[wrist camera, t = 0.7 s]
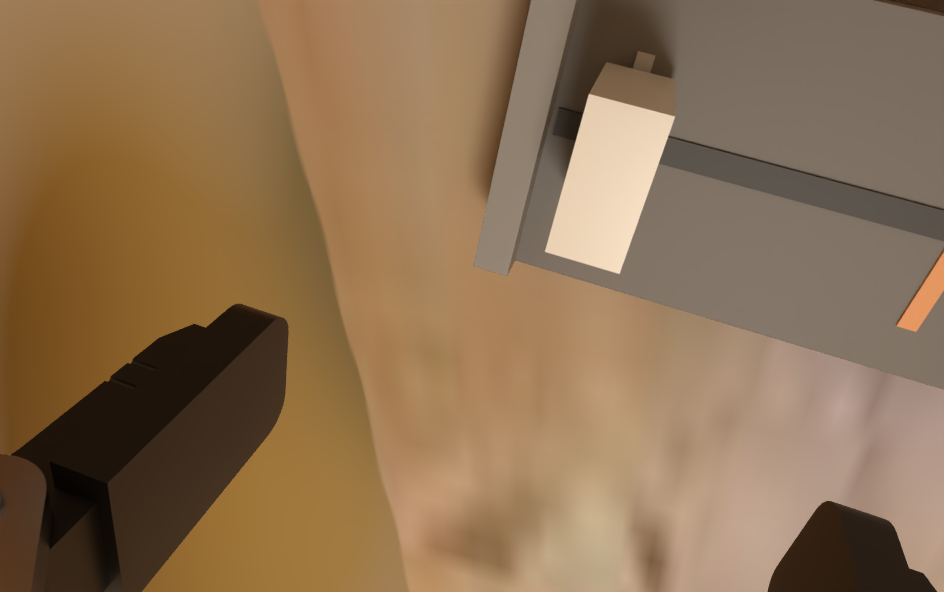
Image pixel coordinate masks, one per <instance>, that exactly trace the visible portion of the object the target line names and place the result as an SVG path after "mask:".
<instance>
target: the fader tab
mask: <svg viewBox="0 0 944 592" xmlns="http://www.w3.org/2000/svg"><path fill="white" fill-rule="evenodd" d="M676 87H677V80H676V79H672V78H668V77H664V76H660V75H656V74H652V73H648V72H644V71H640V70H636V69H632V68H628V67H625V66H621V65H617V64H613V63H609V62H606V64H605V66H604V67H603V69H602V71H601V73H600V75H599V77H598V78H597V80H596V82H595V84H594V86H593V87H592V89H591V91H590V93H589V95H588V99H587V103H586V106H585V110H584V113H583V117H582V121H581V124H580V128H579V131H578V135H577V138H576V142H575V146H574V149H573V153H572V156H571V160H570V163H569V167H568V171H567V174H566V178H565V181H564V185H563V189H562V192H561V196H560V199H559V203H558V206H557V210H556V214H555V217H554V221H553V224H552V228H551V231H550V235H549V239H548V242H547V246H546V249H545V252H547V253H550V254H554V255H557V256H560V257H564V258H567V259H571V260H574V261H577V262H581V263H584V264H587V265H591V266H594V267H597V268H601V269H604V270H607V271H611V272H614V273H618V274H620V271H621V268H622V266H623V263H624V260H625V257H626V254H627V251H628V249H629V246H630V243H631V240H632V237H633V235H634V232H635V229H636V226H637V223H638V220H639V218H640V215H641V212H642V209H643V206H644V203H645V201H646V198H647V195H648V192H649V189H650V187H651V184H652V181H653V178H654V175H655V172H656V170H657V167H658V164H659V161H660V158H661V155H662V153H663V150H664V147H665V144H666V141H667V139H668V136H669V133H670V130H671V127H672V124H673V122H674V119H675V111H676Z"/></svg>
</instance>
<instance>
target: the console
mask: <svg viewBox="0 0 944 592" xmlns="http://www.w3.org/2000/svg"><path fill="white" fill-rule="evenodd" d="M606 62H609V63H613V64H617V65H621V66H625V67H628V68H632V69H636V70H640V71H644V72H648V73H652V74H656V75H660V76H664V77H668V78H672V79H676V80H677V87H676V111H675V119H674V122H673V124H672V127H671V130H670V133H669V136H668V139H667V141H666V144H665V147H664V150H663V153H662V155H661V158H660V161H659V164H658V167H657V170H656V172H655V175H654V178H653V181H652V184H651V187H650V189H649V192H648V195H647V198H646V201H645V203H644V206H643V209H642V212H641V215H640V218H639V220H638V223H637V226H636V229H635V232H634V235H633V237H632V240H631V243H630V246H629V249H628V251H627V254H626V257H625V260H624V263H623V266H622V268H621V271H620V274H618V273H614V272H611V271H607V270H604V269H601V268H597V267H594V266H591V265H587V264H584V263H581V262H577V261H574V260H571V259H567V258H564V257H560V256H557V255H554V254H550V253H547V252H545V249H546V246H547V242H548V239H549V235H550V231H551V228H552V224H553V221H554V217H555V214H556V210H557V206H558V203H559V199H560V196H561V192H562V189H563V185H564V181H565V178H566V174H567V171H568V167H569V163H570V160H571V156H572V153H573V149H574V146H575V142H576V138H577V135H578V131H579V128H580V124H581V121H582V117H583V113H584V110H585V106H586V103H587V99H588V95H589V93H590V91H591V89H592V87H593V86H594V84H595V82H596V80H597V78H598V77H599V75H600V73H601V71H602V69H603V67H604V66H605V64H606ZM515 260H516V261H519V262H523V263H526V264H529V265H532V266H536V267H539V268H542V269H546V270H549V271H552V272H556V273H559V274H562V275H566V276H569V277H572V278H576V279H579V280H582V281H586V282H589V283H592V284H595V285H599V286H602V287H605V288H609V289H612V290H615V291H619V292H622V293H625V294H629V295H632V296H635V297H639V298H642V299H645V300H649V301H652V302H655V303H659V304H662V305H665V306H668V307H672V308H675V309H678V310H682V311H685V312H688V313H692V314H695V315H698V316H702V317H705V318H708V319H712V320H715V321H718V322H722V323H725V324H728V325H731V326H735V327H738V328H741V329H745V330H748V331H751V332H755V333H758V334H761V335H765V336H768V337H771V338H775V339H778V340H781V341H785V342H788V343H791V344H795V345H798V346H801V347H804V348H808V349H811V350H814V351H818V352H821V353H824V354H828V355H831V356H834V357H838V358H841V359H844V360H848V361H851V362H854V363H858V364H861V365H864V366H868V367H871V368H874V369H877V370H881V371H884V372H887V373H891V374H894V375H897V376H901V377H904V378H907V379H911V380H914V381H917V382H921V383H924V384H927V385H931V386H934V387H937V388H940V389H944V12H940V11H935V10H931V9H926V8H922V7H918V6H913V5H909V4H905V3H900V2H896V1H891V0H531V3H530V8H529V12H528V17H527V22H526V26H525V31H524V35H523V40H522V45H521V49H520V54H519V58H518V63H517V68H516V72H515V77H514V81H513V86H512V91H511V95H510V100H509V104H508V109H507V114H506V118H505V123H504V127H503V132H502V137H501V141H500V146H499V150H498V155H497V160H496V164H495V169H494V173H493V178H492V183H491V187H490V192H489V196H488V201H487V206H486V210H485V215H484V219H483V224H482V229H481V233H480V238H479V242H478V247H477V252H476V256H475V261H474V265H473V266H474V267H478V268H481V269H484V270H487V271H491V272H494V273H497V274H501V275H504V276H507V275H508V273H509V271H510V269H511V267H512V265H513V263H514V261H515Z"/></svg>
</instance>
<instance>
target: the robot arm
mask: <svg viewBox="0 0 944 592" xmlns="http://www.w3.org/2000/svg"><path fill="white" fill-rule="evenodd" d="M287 349H288V324H287V321H286V320H285V319H284V318H282V317H279V316H276V315H273V314H270V313H267V312H264V311H260V310H257V309H254V308H252V307H248V306H246V305H243V304H235V305H233V306H231V307H230V308H229V309H227V310H226V311H225V312H224V313H223V314H222V315H220V316H219V317H218V318H217V319H216V320H214V321H213V322H212V323H211V324H210V325H209V326H207V327H206V328H205V327H202V326H199V325H196V324H193V325H191V326H188V327H185V328H183V329H180V330H178V331H175V332H173V333H170V334H168V335H165V336H163V337H160V338H158V339H157V340H156V341H155V342H153V343H152V344H151V345H150V346H148V347H147V348H146V349H145V350H143V351H142V352H141V353H140V354H138V355H137V356H136V357H134V358H133V361H132V363H131V364H129V363H127V364H126V365H125V366H123V367H122V368H121V369H119V370H118V371H117V372H116V373H115V374H113V375H112V376H111V378H110V381H109V382H106V381H104V382H103V383H102V384H100V385H99V386H98V387H97V388H96V389H94V390H93V391H92V392H91V393H89V394H88V395H87V396H85V397H84V398H83V399H82V400H80V401H79V402H78V403H77V404H75V405H74V406H73V407H72V408H70V409H69V410H68V411H67V412H65V413H64V414H63V415H62V416H60V417H59V418H58V419H57V420H55V421H54V422H53V423H51V424H50V425H49V426H48V427H46V428H45V429H44V430H43V431H41V432H40V433H39V434H38V435H36V436H35V437H34V438H33V439H31V440H30V441H29V442H28V443H26V444H25V445H24V446H23V447H21V448H20V449H19V450H17V451H16V452H14V453H13V454H11V455H7V454H0V592H142V591H143V589H144V588H145V587H146V586H147V584H148V583H149V582H150V581H151V579H152V578H153V577H154V576H155V574H156V573H157V572H158V571H159V569H160V568H161V567H162V566H163V564H164V563H165V562H166V561H167V560H168V558H169V557H170V556H171V555H172V553H173V552H174V551H175V550H176V549H177V547H178V546H179V545H180V544H181V542H182V541H183V540H184V539H185V537H186V536H187V535H188V534H189V532H190V531H191V530H192V529H193V527H194V526H195V525H196V524H197V523H198V521H199V520H200V519H201V518H202V516H203V515H204V514H205V513H206V511H207V510H208V509H209V507H210V506H211V505H212V504H213V503H214V502H215V500H216V499H217V498H218V497H219V495H220V494H221V493H222V492H223V490H224V489H225V488H226V487H227V485H228V484H229V483H230V482H231V480H232V479H233V478H234V477H235V476H236V474H237V473H238V472H239V471H240V469H241V468H242V467H243V466H244V464H245V463H246V462H247V461H248V459H249V458H250V457H251V456H252V455H253V453H254V452H255V451H256V449H257V448H258V447H259V446H260V445H261V443H262V442H263V441H264V440H265V438H266V437H267V436H268V435H269V433H270V432H271V430H272V429H273V427H274V426H275V424H276V422H277V420H278V417H279V415H280V413H281V410H282V407H283V403H284V398H285V387H286V367H287ZM768 592H937V591H936V590H935V588H934V587H933V586H932V584H931V583H930V582H929V580H928V579H927V578H926V576H925V575H924V574H923V573H921V572H918V571H915V570H912V569H909V567H908V564H907V561H906V559H905V556H904V553H903V550H902V547H901V544H900V541H899V538H898V536H897V533H896V530H895V528H894V526H893V525H892V524H891V523H890V522H889V521H888V520H886V519H883V518H880V517H877V516H874V515H871V514H868V513H865V512H862V511H859V510H856V509H853V508H850V507H847V506H844V505H841V504H838V503H835V502H832V501H826V502H824V503H822V504H821V505H820V506H819V507H818V508H817V509H816V510H815V512H814V513H813V515H812V516H811V518H810V519H809V521H808V522H807V523H806V525H805V526H804V528H803V529H802V531H801V532H800V534H799V535H798V537H797V538H796V539H795V541H794V542H793V544H792V545H791V547H790V548H789V550H788V551H787V552H786V554H785V555H784V557H783V558H782V560H781V561H780V563H779V564H778V566H777V567H776V569H775V571H774V573H773V575H772V578H771V581H770V584H769V588H768Z"/></svg>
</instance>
